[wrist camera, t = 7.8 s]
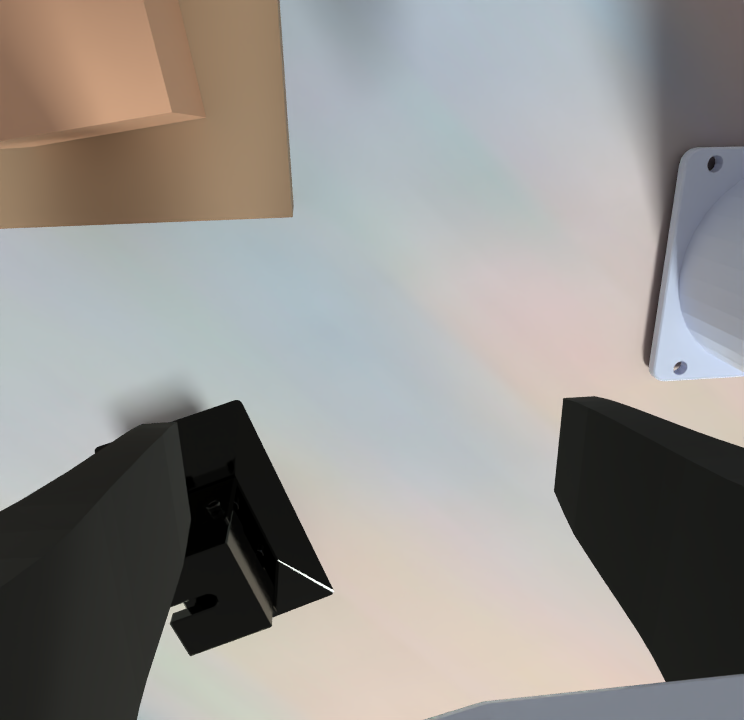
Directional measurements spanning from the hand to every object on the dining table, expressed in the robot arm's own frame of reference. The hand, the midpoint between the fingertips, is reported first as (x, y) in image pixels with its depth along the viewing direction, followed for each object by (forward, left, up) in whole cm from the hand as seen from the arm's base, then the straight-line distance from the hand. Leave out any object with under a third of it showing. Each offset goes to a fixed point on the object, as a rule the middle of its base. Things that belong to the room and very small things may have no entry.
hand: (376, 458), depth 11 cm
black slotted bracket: (+5, +8, -11) cm, 14 cm away
